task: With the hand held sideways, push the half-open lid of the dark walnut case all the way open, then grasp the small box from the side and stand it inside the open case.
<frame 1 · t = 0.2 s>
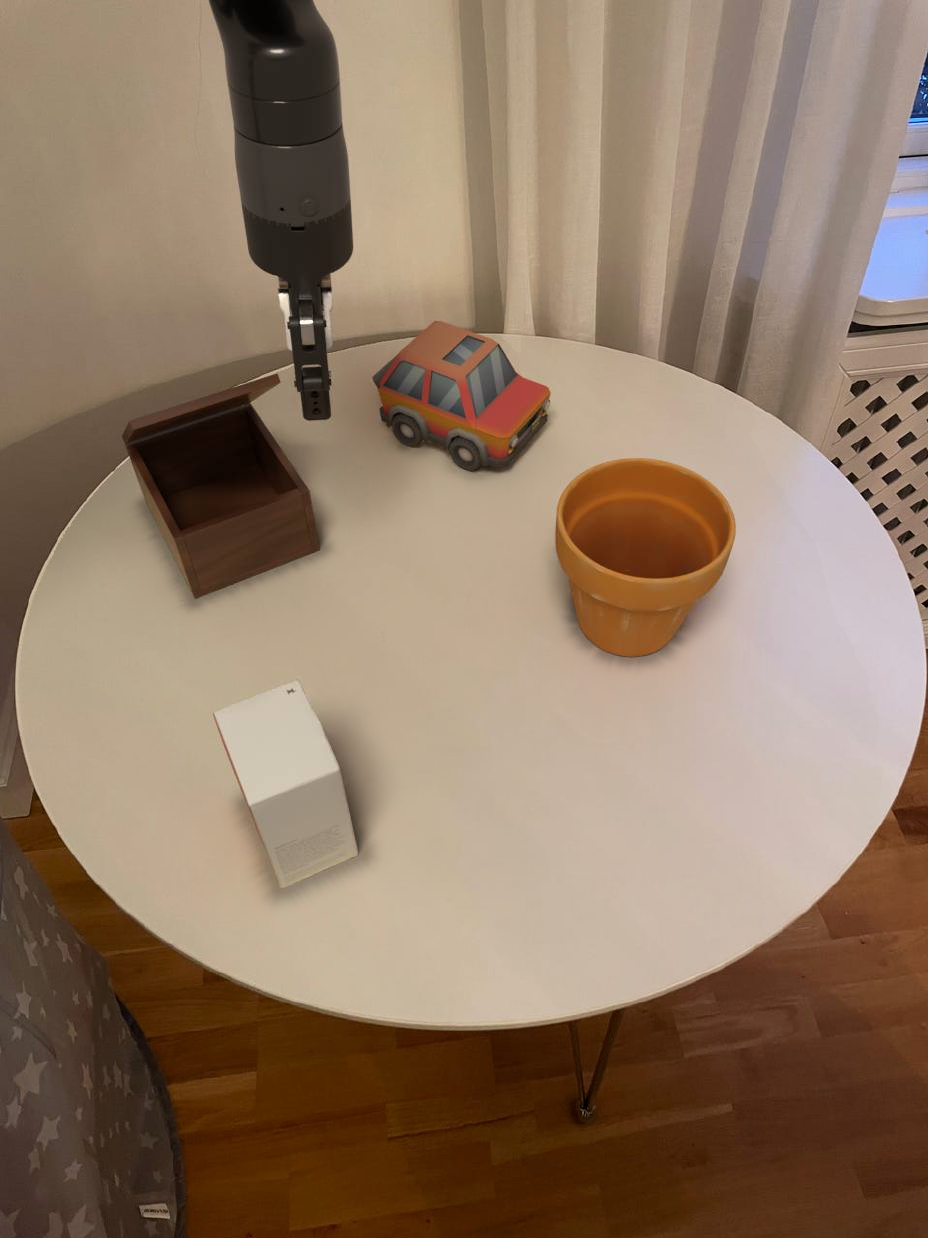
hand: (315, 384, 77), 18 cm above the table, tool pointing down, fingers open, 8 cm apart
small box: (302, 830, 71), on the table
flower pot: (624, 620, 84), on the table
case: (231, 526, 92), on the table
toy car: (462, 430, 102), on the table
lid: (196, 410, 83), point 13 cm above the table, hinge at 40.0°
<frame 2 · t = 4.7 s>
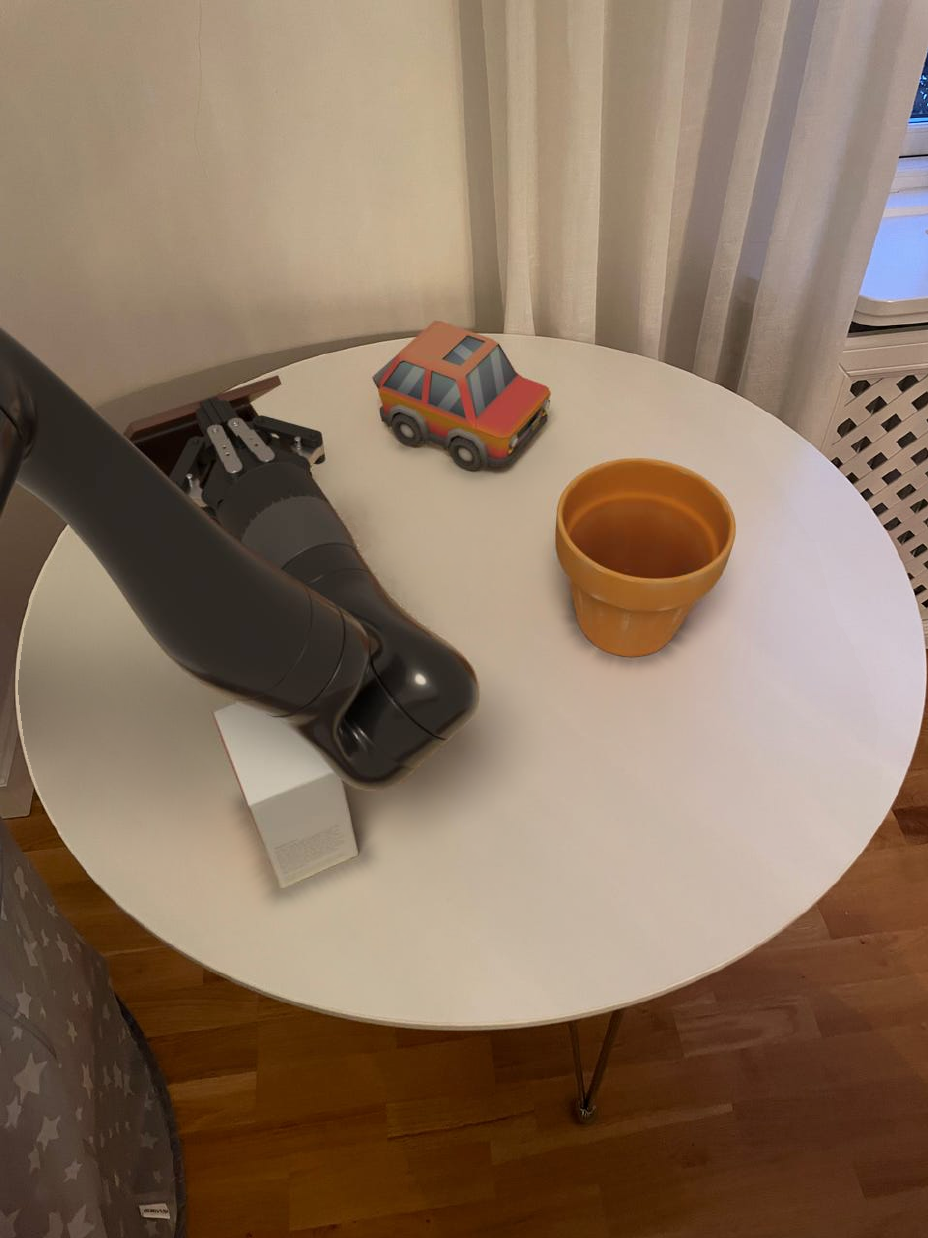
hand: (209, 407, 76), 18 cm above the table, tool horizontal, fingers closed
lid: (196, 411, 83), point 13 cm above the table, hinge at 39.4°, touching gripper
everything else where it was.
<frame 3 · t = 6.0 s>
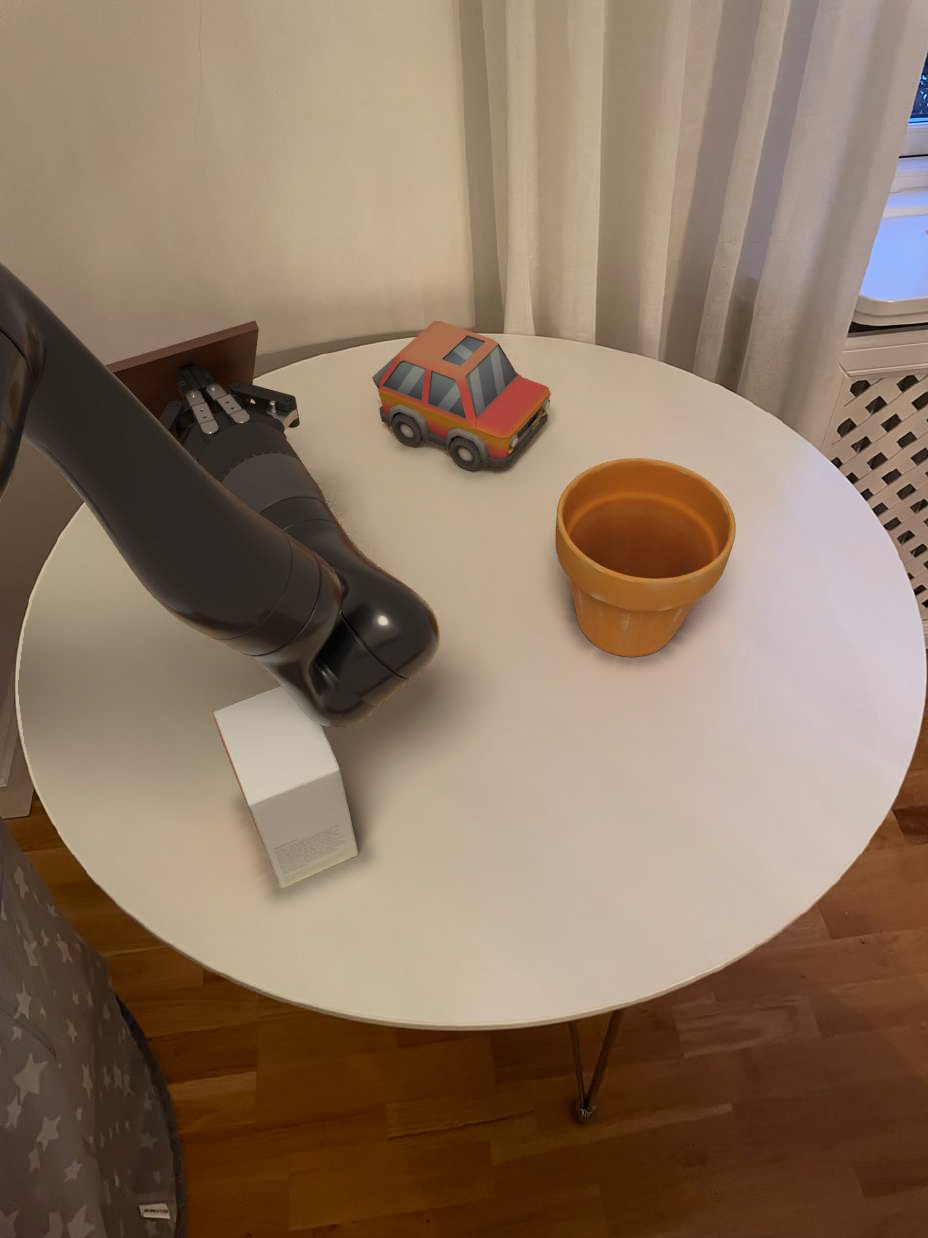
hand: (189, 375, 79), 17 cm above the table, tool horizontal, fingers closed
lid: (186, 385, 82), point 15 cm above the table, hinge at 57.8°, touching gripper
everything else where it was.
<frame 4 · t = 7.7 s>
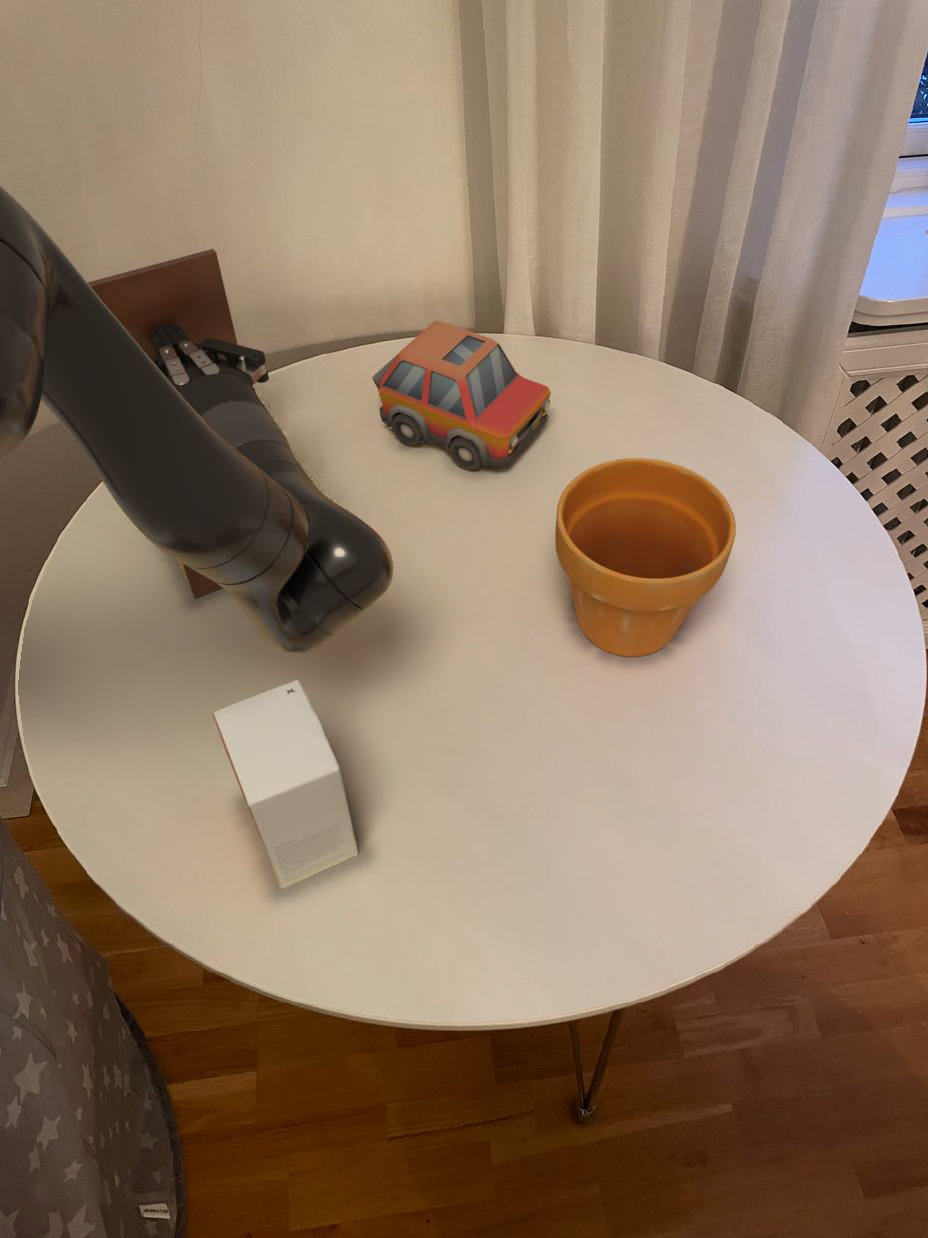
hand: (163, 333, 82), 18 cm above the table, tool horizontal, fingers closed
lid: (167, 349, 84), point 16 cm above the table, hinge at 92.6°, touching gripper
everything else where it was.
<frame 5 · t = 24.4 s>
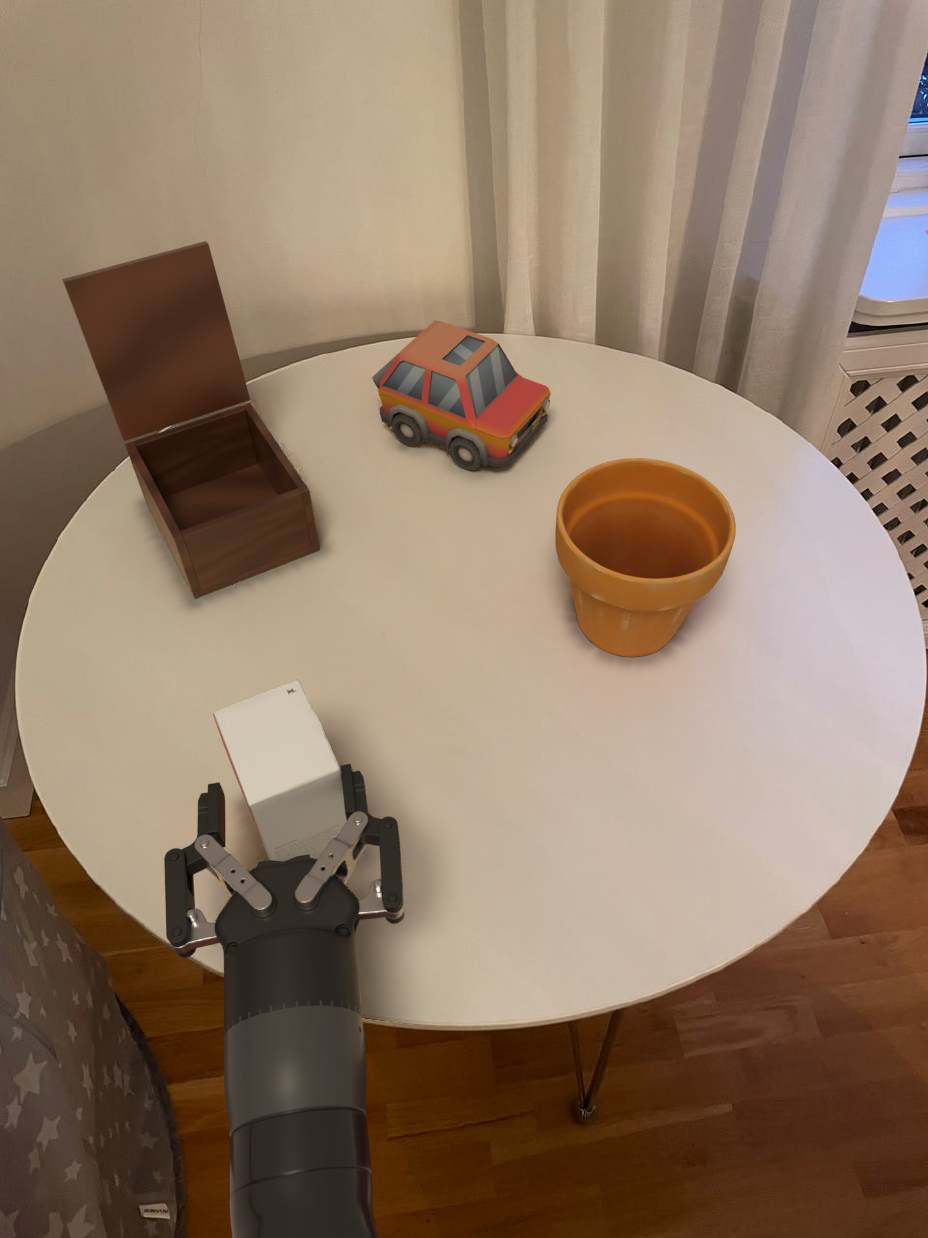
hand: (281, 779, 61), 11 cm above the table, tool horizontal, fingers open, 8 cm apart
lid: (163, 344, 85), point 16 cm above the table, hinge at 100.4°
everything else where it was.
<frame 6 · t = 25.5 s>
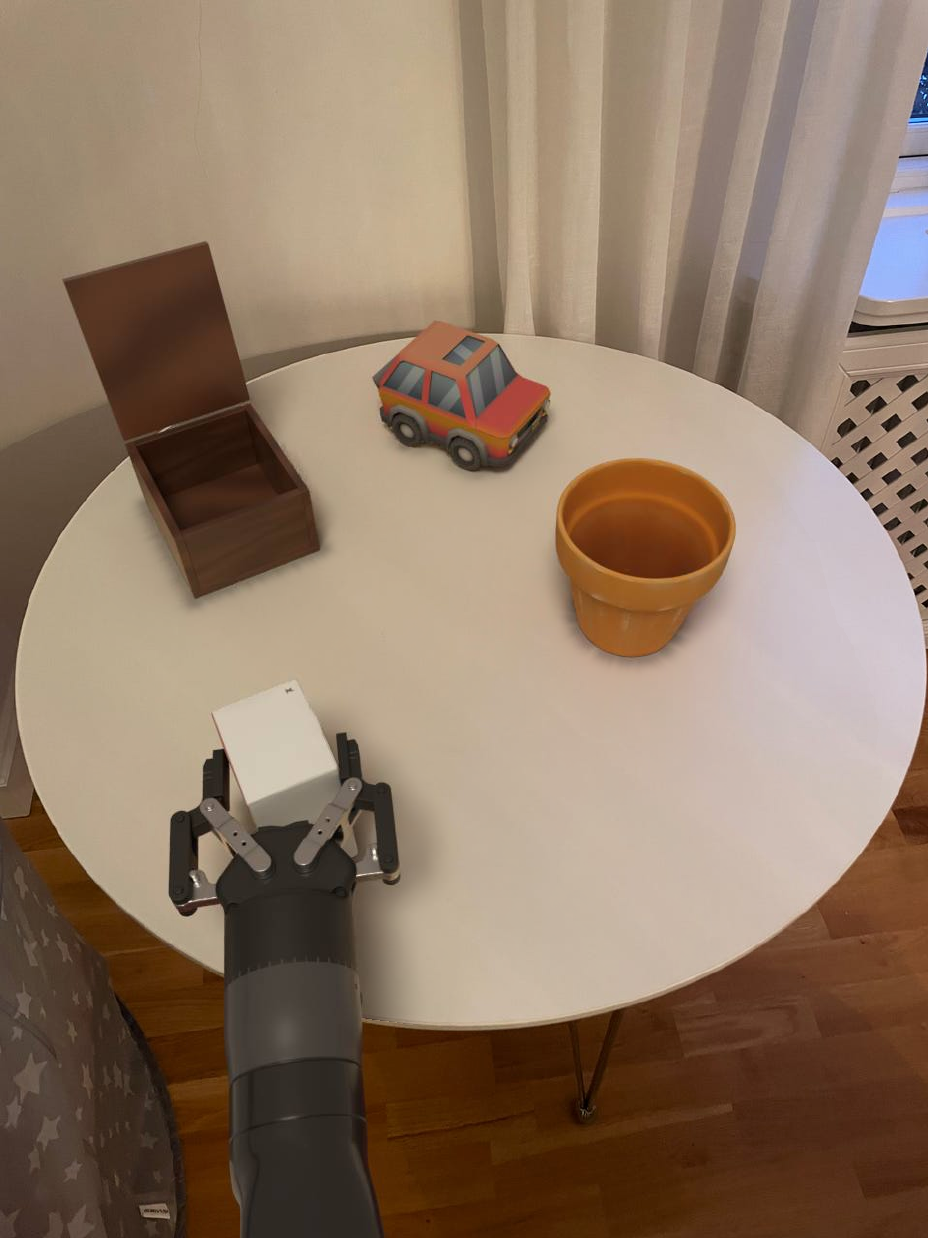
hand: (281, 747, 63), 11 cm above the table, tool horizontal, fingers closed on small box, 7 cm apart
small box: (302, 830, 71), on the table, touching gripper
everything else where it was.
when the fingers open (12 cm above the table, at t = 39.0 s): small box stays where it is, resting on case.
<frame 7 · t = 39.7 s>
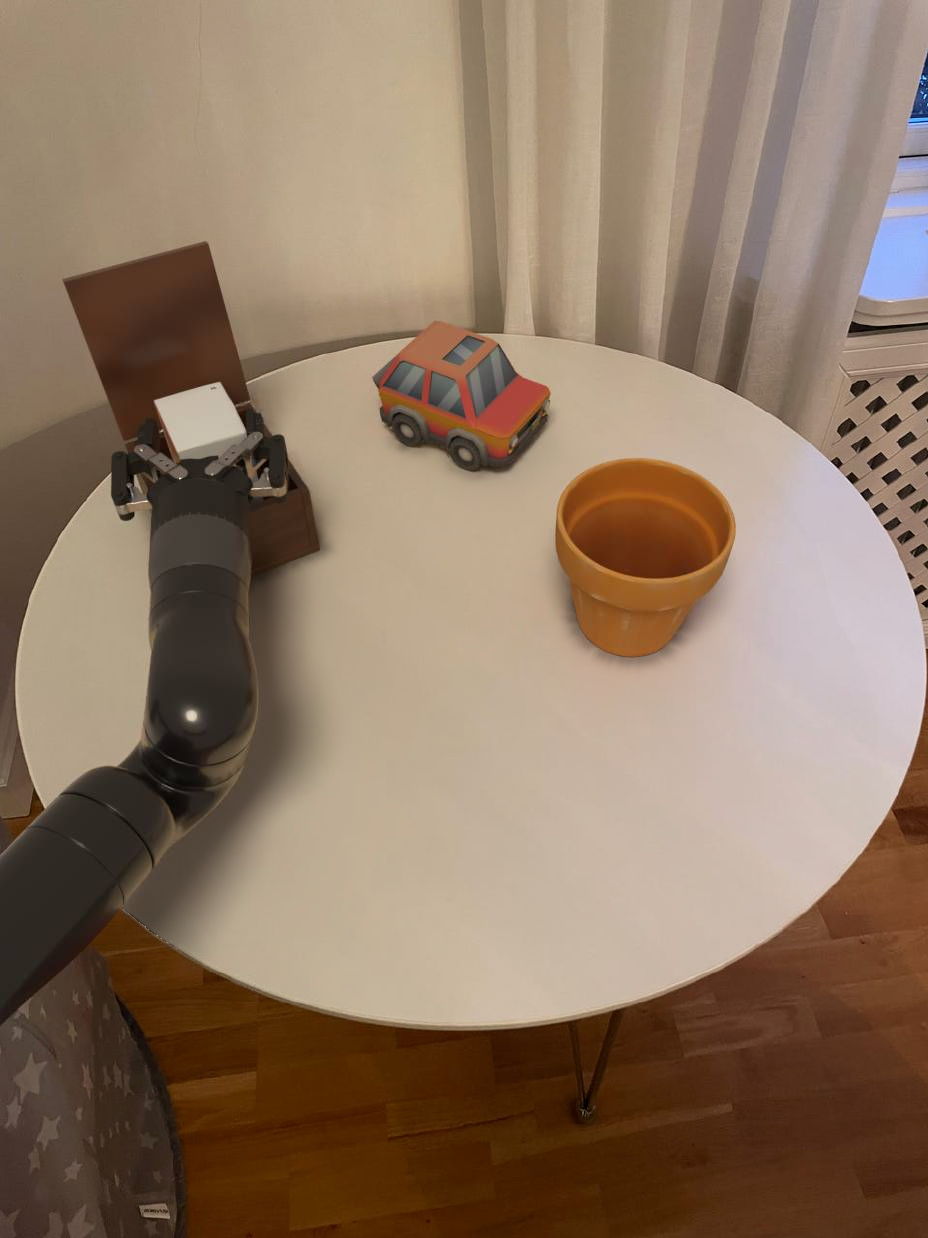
hand: (202, 420, 82), 13 cm above the table, tool horizontal, fingers open, 8 cm apart
small box: (229, 522, 91), point 1 cm above the table, touching case
everything else where it was.
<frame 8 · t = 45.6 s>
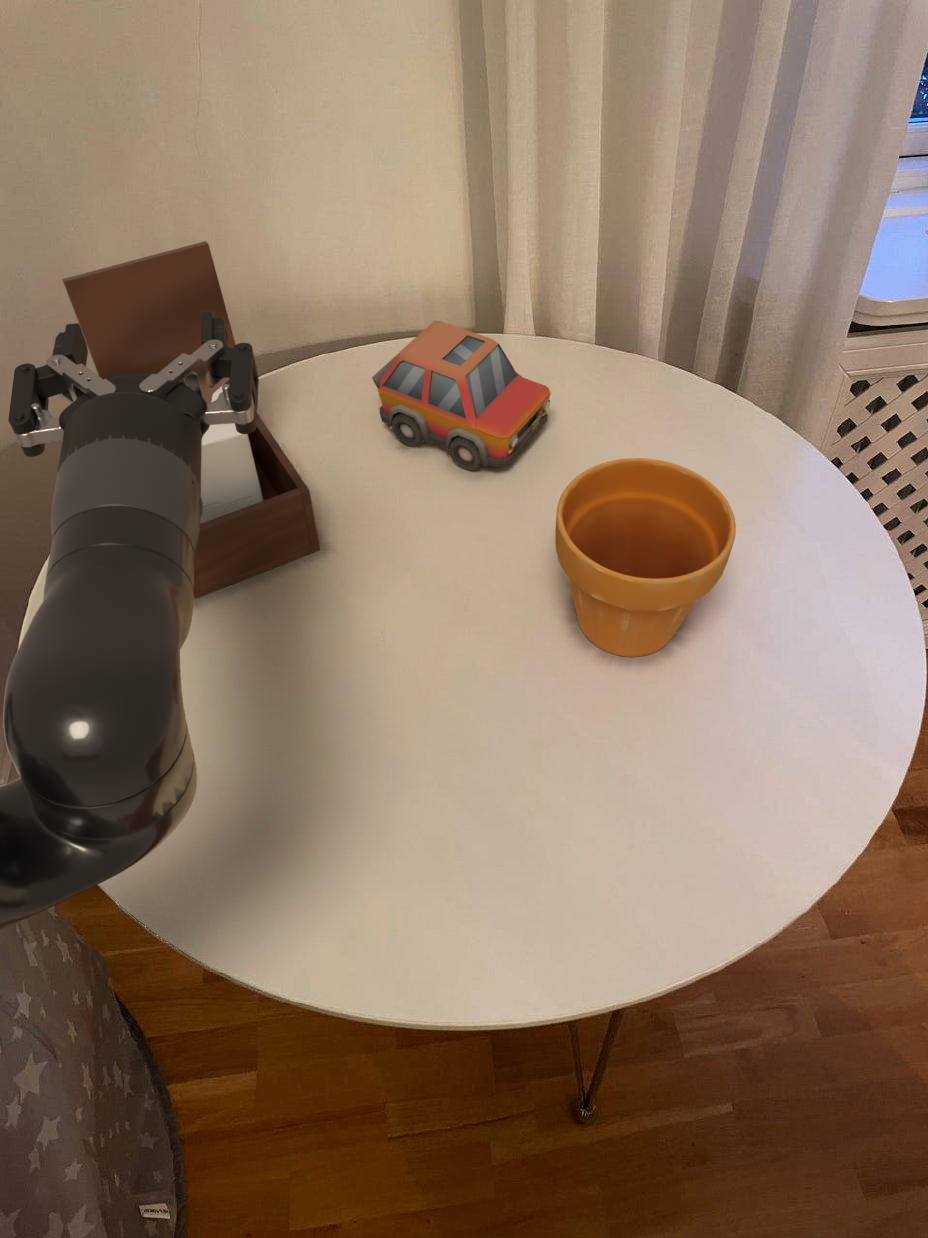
hand: (144, 329, 61), 30 cm above the table, tool horizontal, fingers open, 8 cm apart
nothing on the table moved.
at the end: lid at +100° (first picture: +40°); small box inside the target area in the case (0.1 cm from its centre), point 0.6 cm above the case's base; small box tilted 0° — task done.
